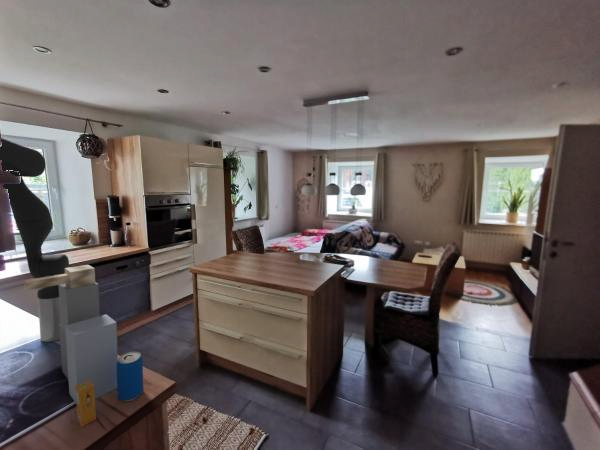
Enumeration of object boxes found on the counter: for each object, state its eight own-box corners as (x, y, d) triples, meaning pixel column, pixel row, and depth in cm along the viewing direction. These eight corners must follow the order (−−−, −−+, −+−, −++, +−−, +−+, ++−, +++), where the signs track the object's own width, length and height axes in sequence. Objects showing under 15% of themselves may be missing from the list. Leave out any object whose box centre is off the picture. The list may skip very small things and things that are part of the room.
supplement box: (92, 413, 75) (90, 378, 73) (96, 419, 73) (94, 384, 71) (76, 420, 72) (74, 385, 71) (80, 428, 70) (78, 391, 69)
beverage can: (135, 384, 86) (134, 348, 85) (147, 392, 83) (147, 355, 81) (113, 397, 81) (111, 358, 79) (125, 406, 77) (123, 366, 76)
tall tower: (62, 370, 91) (56, 282, 87) (91, 359, 97) (87, 277, 93) (73, 387, 84) (68, 292, 80) (104, 374, 90) (100, 285, 86)
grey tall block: (69, 393, 81) (65, 325, 79) (108, 376, 89) (106, 314, 87) (78, 406, 76) (74, 335, 74) (118, 387, 84) (116, 322, 82)
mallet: (27, 297, 75) (26, 279, 75) (23, 291, 79) (21, 274, 78) (95, 283, 88) (94, 268, 87) (88, 279, 91) (88, 264, 91)
